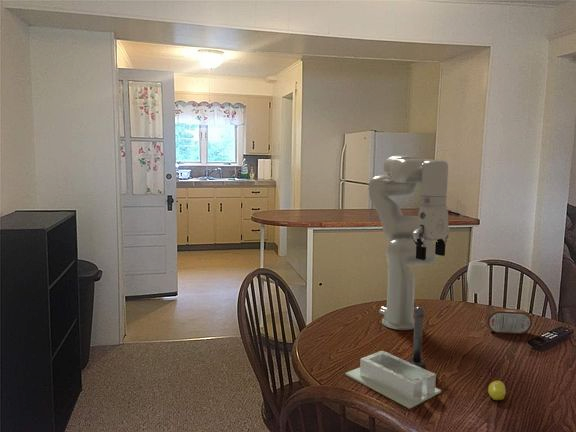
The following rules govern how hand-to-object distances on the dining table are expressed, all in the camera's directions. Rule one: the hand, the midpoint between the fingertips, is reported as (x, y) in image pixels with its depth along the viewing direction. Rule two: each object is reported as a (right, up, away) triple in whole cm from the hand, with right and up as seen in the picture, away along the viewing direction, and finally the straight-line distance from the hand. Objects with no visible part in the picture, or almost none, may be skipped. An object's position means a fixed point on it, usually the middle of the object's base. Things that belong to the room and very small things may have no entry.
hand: (430, 257), depth 143 cm
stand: (-6, -31, -5) cm, 32 cm away
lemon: (+10, -34, -23) cm, 42 cm away
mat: (-16, -33, -17) cm, 40 cm away
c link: (-15, -32, -18) cm, 40 cm away
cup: (+28, -26, +36) cm, 53 cm away
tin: (+33, -28, +20) cm, 48 cm away
